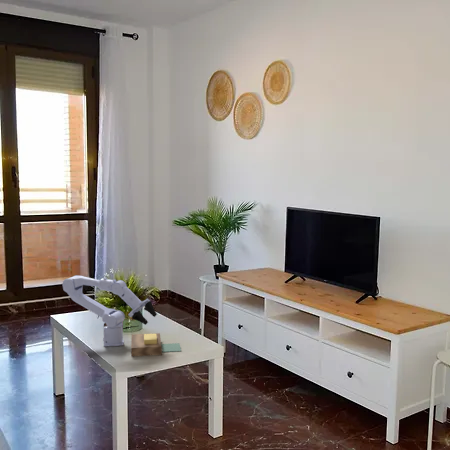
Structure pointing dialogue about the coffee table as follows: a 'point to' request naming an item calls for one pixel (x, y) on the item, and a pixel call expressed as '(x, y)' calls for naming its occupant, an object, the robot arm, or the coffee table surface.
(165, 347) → the mat
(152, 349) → the deck
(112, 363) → the coffee table surface
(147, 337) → the yellow rectangular block
